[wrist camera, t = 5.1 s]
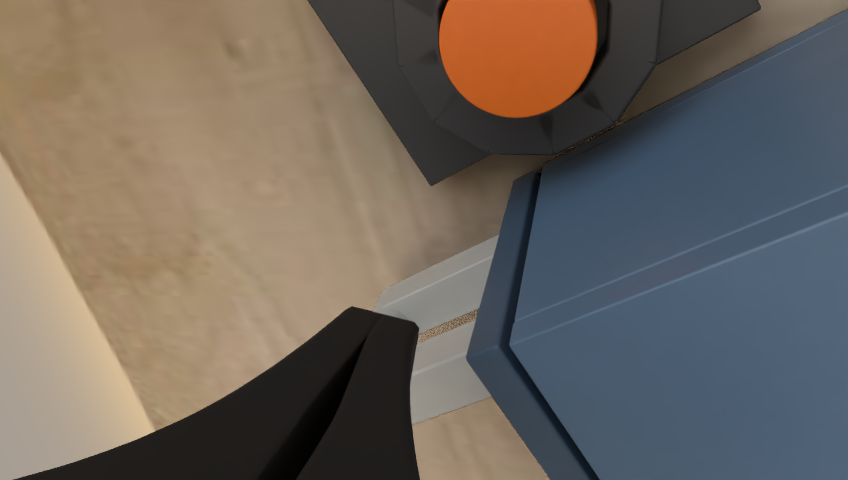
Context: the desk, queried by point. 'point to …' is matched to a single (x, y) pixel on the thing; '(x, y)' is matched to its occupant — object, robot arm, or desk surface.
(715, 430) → the blue-grey cabinet box
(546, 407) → the cabinet door
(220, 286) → the desk surface
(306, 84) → the desk surface
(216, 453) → the robot arm
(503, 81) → the release button
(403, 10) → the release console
